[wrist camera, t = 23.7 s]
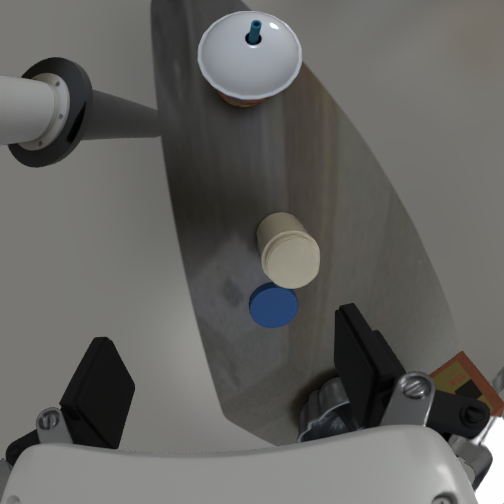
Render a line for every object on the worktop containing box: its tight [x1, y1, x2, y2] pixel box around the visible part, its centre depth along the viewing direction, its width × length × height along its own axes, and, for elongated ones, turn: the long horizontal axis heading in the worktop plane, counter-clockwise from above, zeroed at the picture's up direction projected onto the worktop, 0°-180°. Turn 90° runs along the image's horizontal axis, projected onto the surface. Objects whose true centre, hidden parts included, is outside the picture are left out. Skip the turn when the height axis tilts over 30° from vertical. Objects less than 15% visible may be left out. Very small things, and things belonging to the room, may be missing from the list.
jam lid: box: [249, 283, 298, 328], centre depth 43 cm, size 7×7×2 cm
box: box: [429, 351, 504, 418], centre depth 46 cm, size 17×9×20 cm, turn 122°
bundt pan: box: [297, 377, 364, 443], centre depth 49 cm, size 26×26×10 cm
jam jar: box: [256, 212, 320, 289], centre depth 35 cm, size 7×7×10 cm
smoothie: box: [198, 11, 302, 107], centre depth 22 cm, size 8×8×20 cm
